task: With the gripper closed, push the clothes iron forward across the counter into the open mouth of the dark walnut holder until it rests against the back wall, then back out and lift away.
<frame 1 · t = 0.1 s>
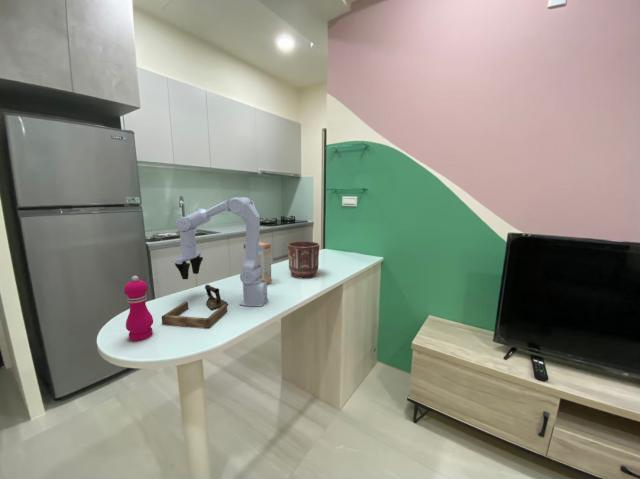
hand: (190, 276, 114), 10 cm above the countertop, tool pointing down, fingers open, 7 cm apart
pottery: (303, 275, 152), on the countertop
pepper mill: (141, 336, 85), on the countertop
cracker box: (258, 282, 138), on the countertop
clothes iron: (214, 304, 110), on the countertop
walnut holder: (197, 317, 98), on the countertop
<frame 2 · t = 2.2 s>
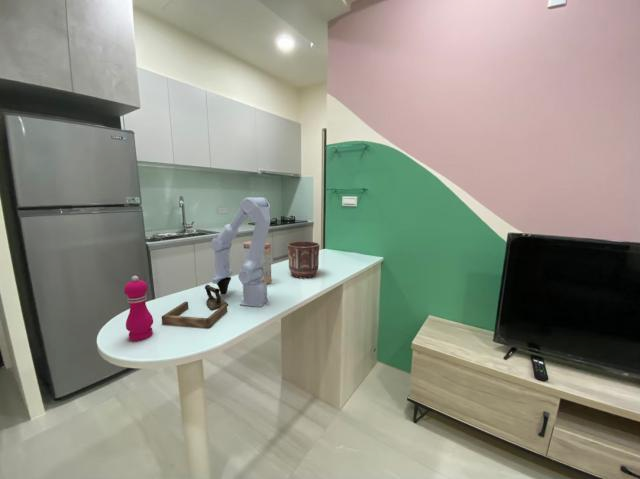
hand: (223, 293, 118), 1 cm above the countertop, tool pointing down, fingers closed
nothing on the countertop moved.
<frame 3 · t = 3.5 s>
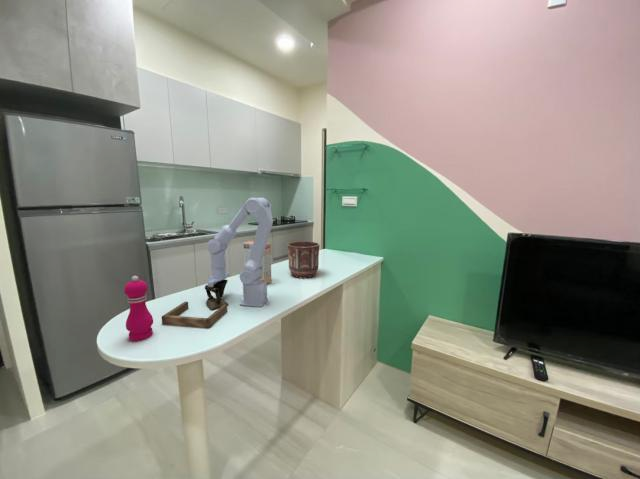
hand: (220, 297, 115), 1 cm above the countertop, tool pointing down, fingers closed
nothing on the countertop moved.
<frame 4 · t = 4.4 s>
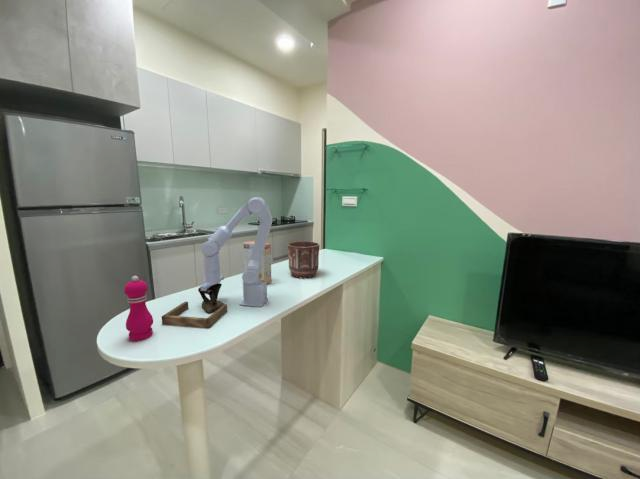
hand: (213, 301, 110), 1 cm above the countertop, tool pointing down, fingers closed, pressing on clothes iron
clothes iron: (210, 306, 107), on the countertop, touching gripper
everything else where it was.
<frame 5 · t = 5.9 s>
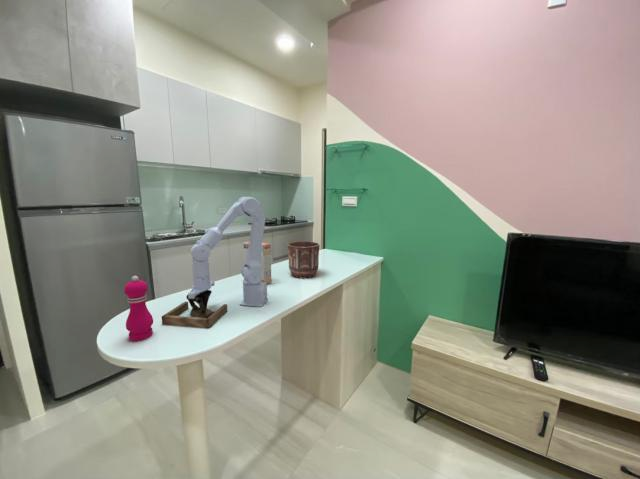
hand: (203, 309, 102), 1 cm above the countertop, tool pointing down, fingers closed, pressing on clothes iron
clothes iron: (199, 315, 99), on the countertop, touching gripper
everything else where it was.
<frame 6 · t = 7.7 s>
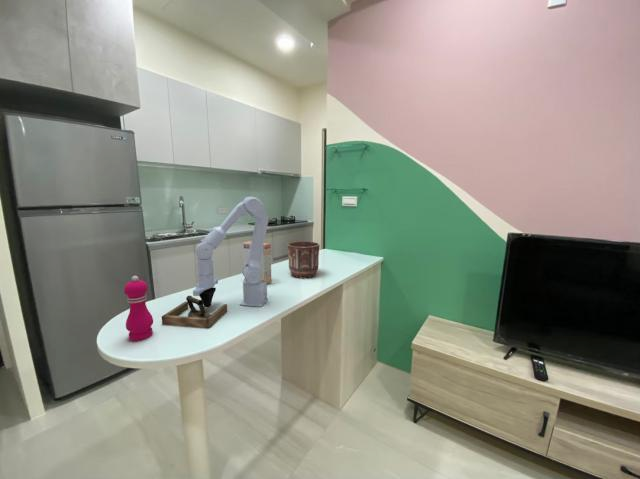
hand: (207, 306, 105), 1 cm above the countertop, tool pointing down, fingers closed
clothes iron: (197, 317, 98), on the countertop
everything else where it was.
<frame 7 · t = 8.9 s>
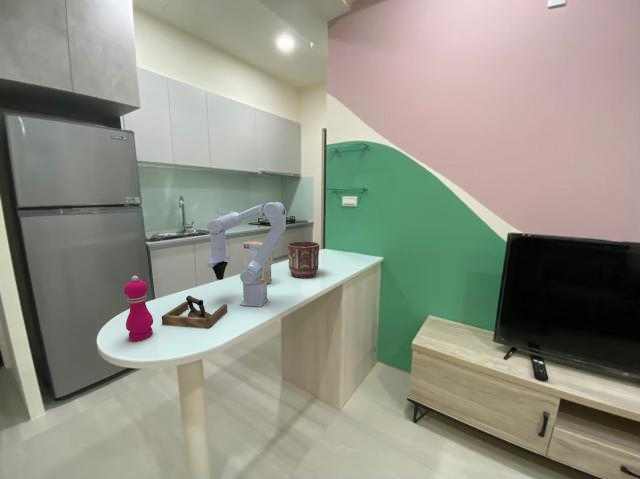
hand: (220, 279, 112), 9 cm above the countertop, tool pointing down, fingers closed
nothing on the countertop moved.
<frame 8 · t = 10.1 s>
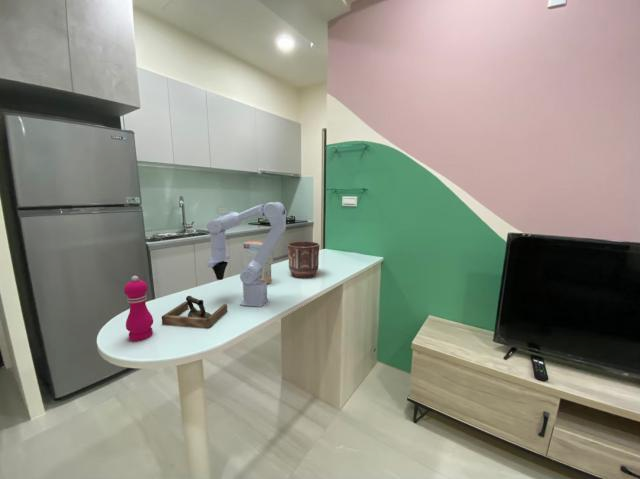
hand: (220, 279, 112), 9 cm above the countertop, tool pointing down, fingers closed
nothing on the countertop moved.
at the end: clothes iron inside the target area on the walnut holder (1.3 cm from its centre), point 0.0 cm above the walnut holder's base; clothes iron tilted 2°; the gripper is holding nothing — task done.
